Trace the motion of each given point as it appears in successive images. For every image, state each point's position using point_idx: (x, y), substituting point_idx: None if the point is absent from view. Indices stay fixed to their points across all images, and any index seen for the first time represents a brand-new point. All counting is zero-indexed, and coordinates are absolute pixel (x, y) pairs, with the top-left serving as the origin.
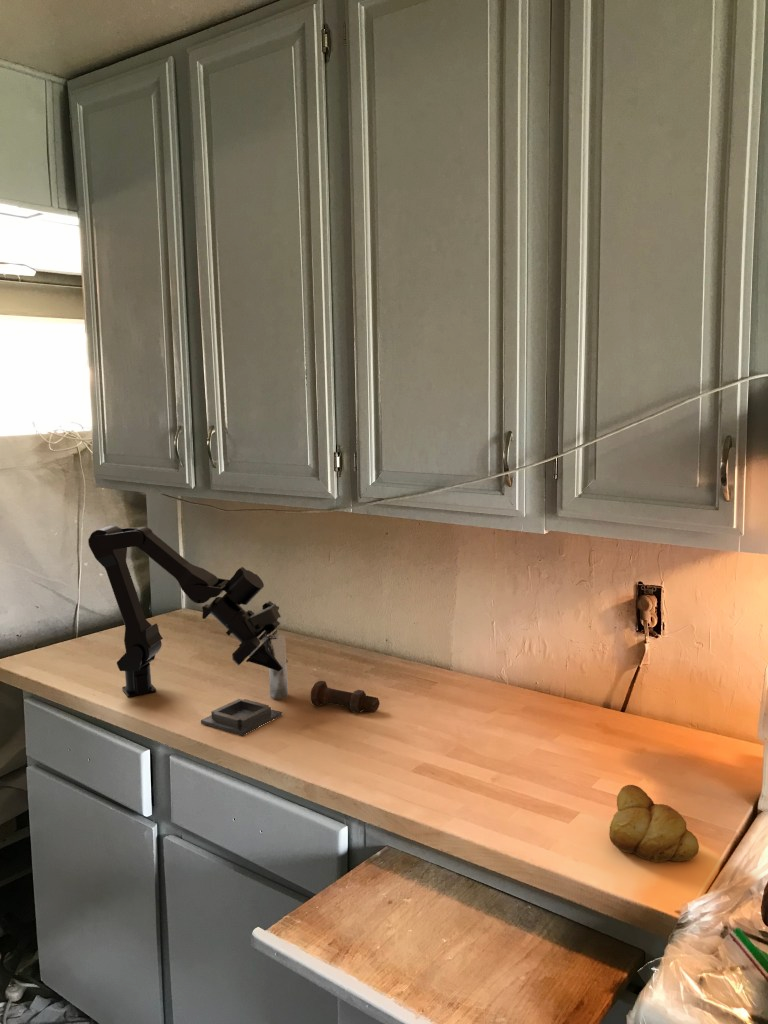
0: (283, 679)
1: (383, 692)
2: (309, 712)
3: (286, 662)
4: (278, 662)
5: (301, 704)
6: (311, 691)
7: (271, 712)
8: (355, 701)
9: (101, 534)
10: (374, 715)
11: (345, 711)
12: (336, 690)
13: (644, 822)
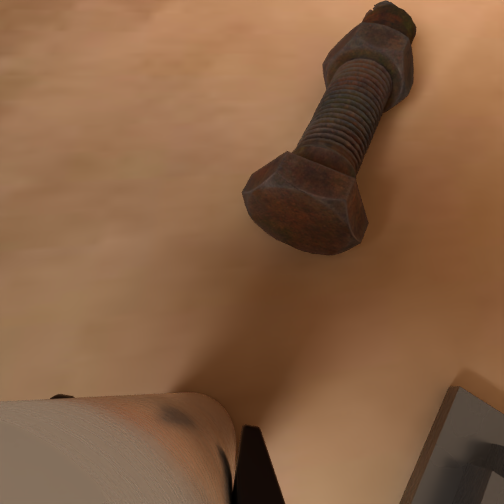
0: (217, 414)
1: (194, 34)
2: (393, 264)
3: None
4: (243, 475)
5: (303, 308)
6: (352, 229)
7: (470, 446)
8: (410, 68)
9: None
10: None
11: None
12: (342, 119)
13: None
